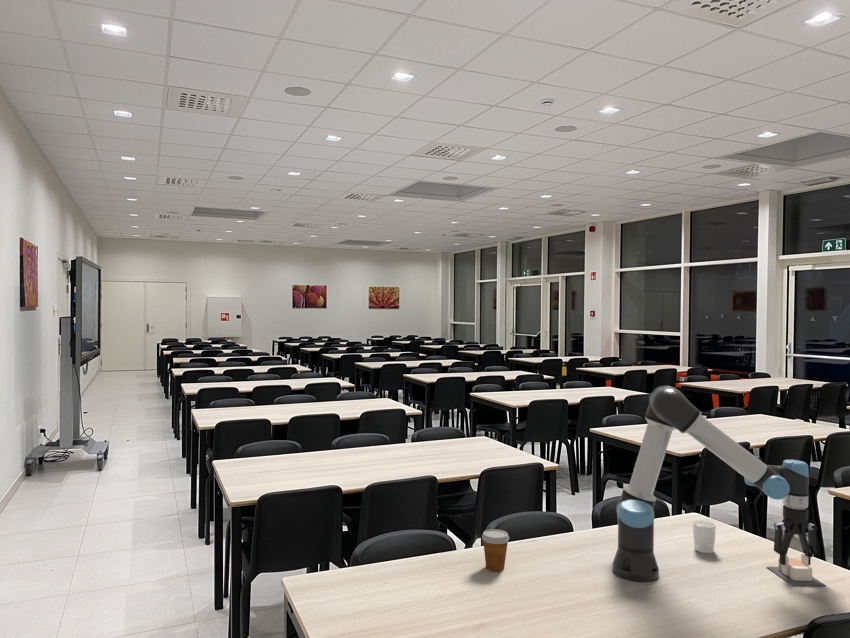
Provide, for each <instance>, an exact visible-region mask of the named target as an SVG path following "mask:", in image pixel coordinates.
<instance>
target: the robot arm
mask: <svg viewBox="0 0 850 638" xmlns="http://www.w3.org/2000/svg"><path fill="white" fill-rule="evenodd" d="M644 419H645V420H646V422H647V425H646V427H645V432H644V435H643V439H642V442H641V445H640V448H639V452H638V455H637V458H636V461H635V464H634V467H633V472H632V474H631V478H630V481H629V483H628V485H626V486H624V487H623V489H622V492H621V495H620V497H619V499H618V501H617V503H616V508H615V509H616V510H615V511H616V516H617V550H616V553H615V555H614V558H613V561H612V564H611V565H612V566H611V567H612V571H613V573H614V574H615V575H616V576H618V577H620V578H623V579H626V580H629V581H634V582H635V581H636V582H652V581H655V580H657V579H658V578H659V577H660V576H659V575H660V572H659V571H660V569H659V566H658V562H657V559H656V556H655V553H654V552H655V551H654V545H655V543H654V542H655V541H654V537H655V536H654V535H655V529H654V526H655V511H654V506H655V504H656V501H657V498H656V497H655V495H654V492H655V490H656V489H655V488H656V485H657V482H658V479H659V475H660V473H661V469H662V466H663V463H664V459H665V456H666V453H667V449H668V446H669V442H670V439H671V437H672V433H673V432H674V431H675V430H678V431H679V432H680V433H681V434H687V435H689V436H690V437H691V438H693V439H694V440H695V441H697V442H698V443H699V444H700V445H702V446H703V447H705V448H706V449H707V450H708V451H710V452H711V453H712V454H714V455H715V456H716V457H718V458H719V459H720V460H722V461H723V462H724V463H726V464H727V465H728V466H730V467H731V469H733V470H735V471H736V472H737V473H738V474H740V475H741V476H742V477H744V478H743V480H744V482H745V485H747V486H750V487H756V488H758V490H759V489H760V491H762V492H763V493H764V494H765V495H766V496H767V497H768V498H770V499H772V500H782V504H783V506H782V518H783V519H782V520H781V522H778V523H777V522H774V523H773V526H774V539H773V542H774V543H773V552H775V553H776V554H778V555H779V558H780V564H782V573H783V574H785V575H786V576H789V559H790V556H789V555H787V554H788V551H789V548H790V545H791V541H792V539H793V538H794V535H798V538H799V542H800V545H801V548H802V550H803V551H802V552H803V553H801V554H800V555H801V556H800V557H801V558H800V562H802V563H803V564H805V565H807V566H808V567H809V566H811V563H812V562H811V561H812V560H811V559H812V558H813V556H814V555H817V554H818V553H817V552H818V550H817V533H816V532H817V529H818V526H817V525H816V524H814V523H811V522H810V523H809V521H808V520H809V509H808V507H809V484H810V481H809V480H810V479H809V478H810V474H809V473H810V472H809V470H810V469H809V465H808V463H806V462H805V461H801V460H797V459H784V460H783V462H782V465H774V464H773V465H771V464H766V463H765V462H763V461H762V460H761V459H759V458H758V457H757V456H755V455H754V454H752V452H750V451H749V450H747V449H746V448H745V447H743V446H742V445H741V444H739V443H738V442H737V441H736V440H734V439H732V438H731V437H730V436H729V435H728V434H726V433H725V432H724V431H722V430H721V429H720V428H718V427H717V426H716V425H715V424H713V423H712V422H710V421H709V420H708V419H707V418H705V417H704V416H703V415H702V411H700V409H698V408H697V407H696V406H695V405H694V404H693V403H691V402H690V401H689V400H688V398H686V396H685V395H684V394H683V392H681V390H679V389H678V388H677V387H674V386H671V385H662V386H658V387H656V388H655V389H653V391H651V393H650V394H649V397H648V407H647V409H646V413H645V417H644ZM783 530H784V532H783ZM806 530H807V532H806Z"/></svg>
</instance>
